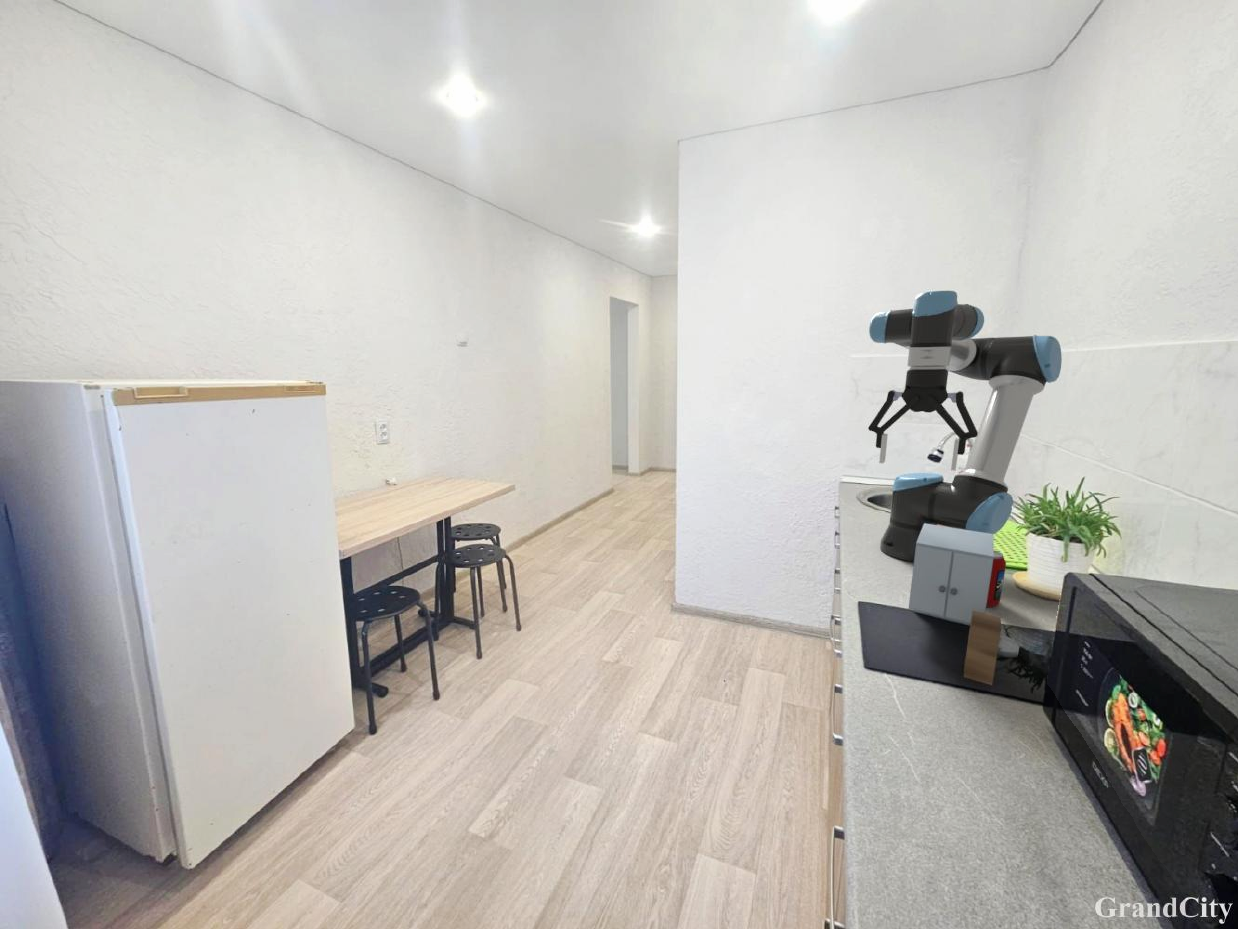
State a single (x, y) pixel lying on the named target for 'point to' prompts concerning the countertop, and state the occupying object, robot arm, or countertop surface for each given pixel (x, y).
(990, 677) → the upright wooden brick
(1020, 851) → the countertop surface
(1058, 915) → the countertop surface
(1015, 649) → the token
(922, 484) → the robot arm
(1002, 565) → the beverage can
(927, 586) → the cabinet
